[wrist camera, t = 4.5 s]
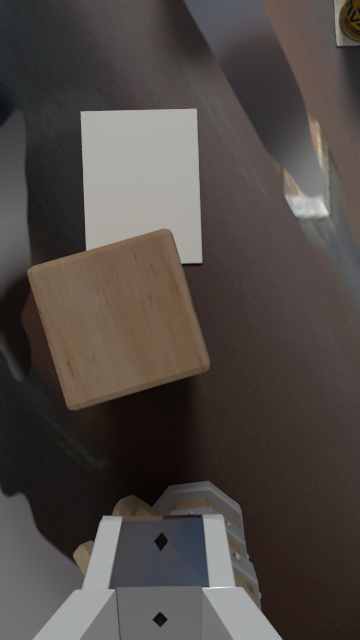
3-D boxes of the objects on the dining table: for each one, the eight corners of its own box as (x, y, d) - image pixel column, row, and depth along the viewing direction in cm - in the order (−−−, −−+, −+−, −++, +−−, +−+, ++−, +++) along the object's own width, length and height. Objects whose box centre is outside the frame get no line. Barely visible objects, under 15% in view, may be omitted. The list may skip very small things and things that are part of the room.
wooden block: (172, 271, 40) (170, 224, 20) (193, 343, 40) (213, 371, 20) (99, 292, 39) (21, 267, 19) (120, 365, 40) (66, 414, 20)
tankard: (260, 520, 40) (312, 641, 25) (201, 595, 40) (218, 761, 25) (142, 428, 40) (123, 496, 25) (83, 504, 40) (28, 617, 25)
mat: (202, 263, 40) (202, 262, 39) (87, 266, 39) (86, 266, 39) (196, 110, 39) (196, 108, 39) (81, 113, 39) (80, 111, 39)
